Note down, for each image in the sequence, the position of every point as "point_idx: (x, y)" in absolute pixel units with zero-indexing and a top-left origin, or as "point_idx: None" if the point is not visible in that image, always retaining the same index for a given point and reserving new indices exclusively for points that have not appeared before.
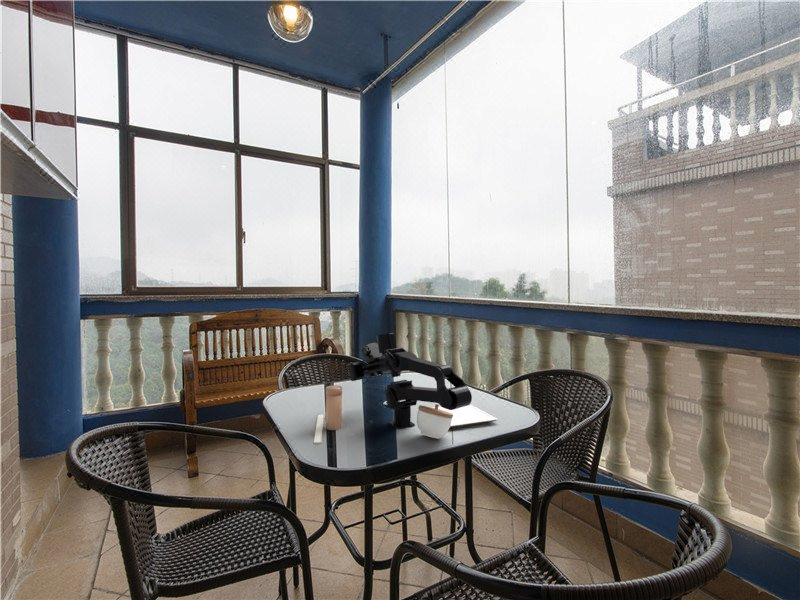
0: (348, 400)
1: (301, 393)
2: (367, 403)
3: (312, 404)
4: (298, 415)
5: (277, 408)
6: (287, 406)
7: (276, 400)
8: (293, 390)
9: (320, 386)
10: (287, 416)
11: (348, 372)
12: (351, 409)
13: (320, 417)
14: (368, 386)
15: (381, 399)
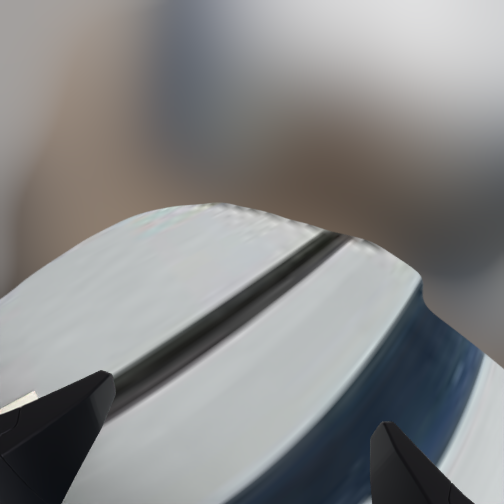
0: (263, 383)
1: (216, 235)
2: (292, 473)
3: (138, 311)
4: (27, 335)
5: (70, 261)
6: (92, 269)
7: (130, 228)
8: (224, 214)
9: (301, 235)
10: (16, 315)
11: (99, 377)
12: (167, 472)
13: None
14: (420, 318)
15: None
